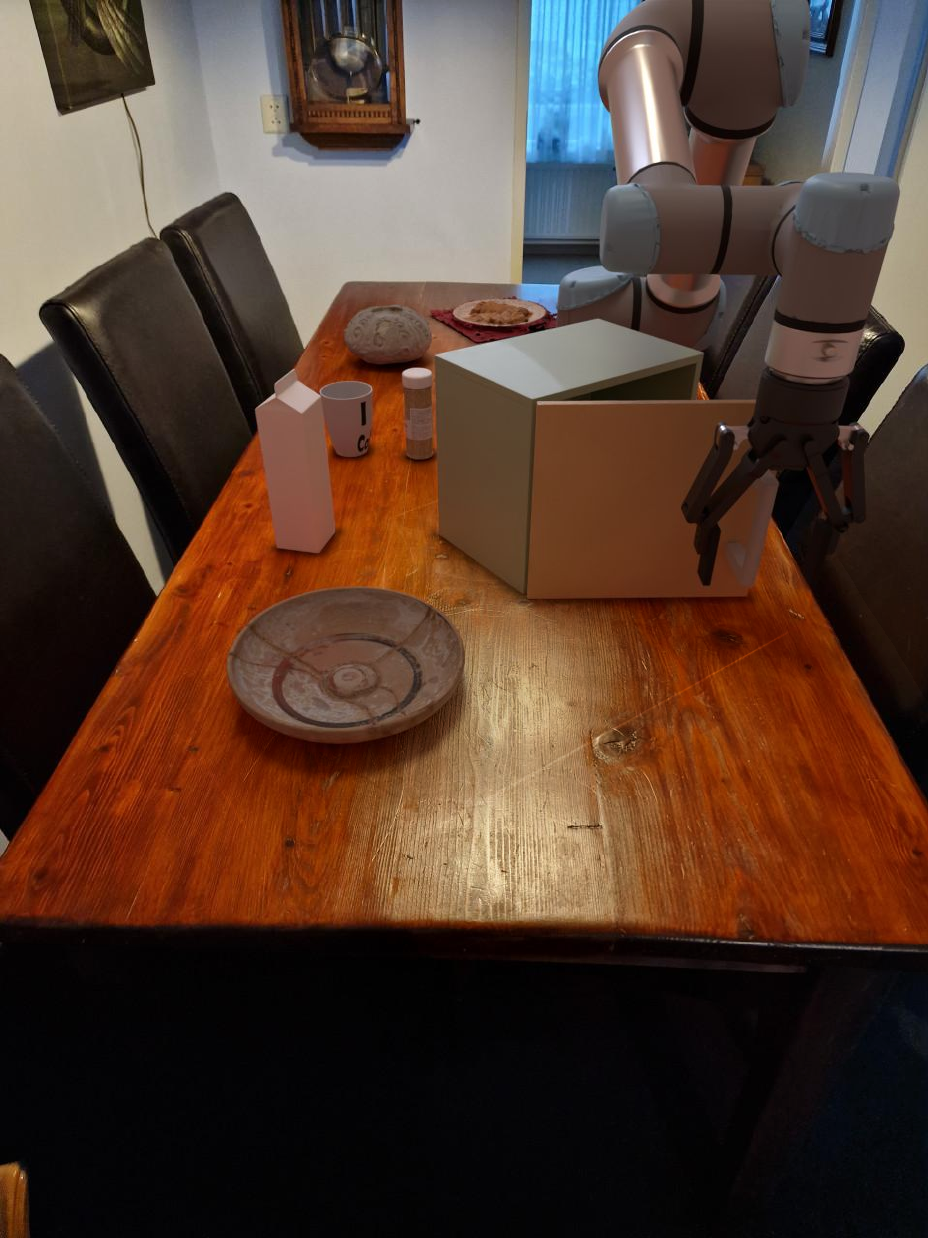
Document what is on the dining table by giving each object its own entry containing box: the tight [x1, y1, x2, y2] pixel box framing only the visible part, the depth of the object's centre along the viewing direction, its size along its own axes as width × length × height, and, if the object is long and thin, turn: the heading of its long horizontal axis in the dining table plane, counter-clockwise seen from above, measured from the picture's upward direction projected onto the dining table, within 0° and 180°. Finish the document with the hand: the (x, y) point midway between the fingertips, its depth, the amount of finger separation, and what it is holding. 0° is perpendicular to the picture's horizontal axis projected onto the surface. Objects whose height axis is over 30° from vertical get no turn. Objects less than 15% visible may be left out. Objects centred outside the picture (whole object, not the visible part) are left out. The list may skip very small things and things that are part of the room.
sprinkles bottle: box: [401, 367, 435, 461], centre depth 126 cm, size 5×5×14 cm
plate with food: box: [429, 295, 557, 343], centre depth 191 cm, size 24×26×4 cm
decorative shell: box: [343, 304, 433, 366], centre depth 166 cm, size 18×18×10 cm
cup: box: [319, 380, 374, 458], centre depth 129 cm, size 8×8×10 cm
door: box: [526, 399, 780, 600], centre depth 87 cm, size 8×26×24 cm, turn 91°
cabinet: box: [434, 319, 705, 595], centre depth 102 cm, size 18×26×24 cm
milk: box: [254, 368, 336, 554], centre depth 102 cm, size 6×6×22 cm
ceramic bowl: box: [226, 585, 466, 744], centre depth 82 cm, size 23×24×5 cm
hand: (756, 578), depth 86 cm, fingers open, 10 cm apart
